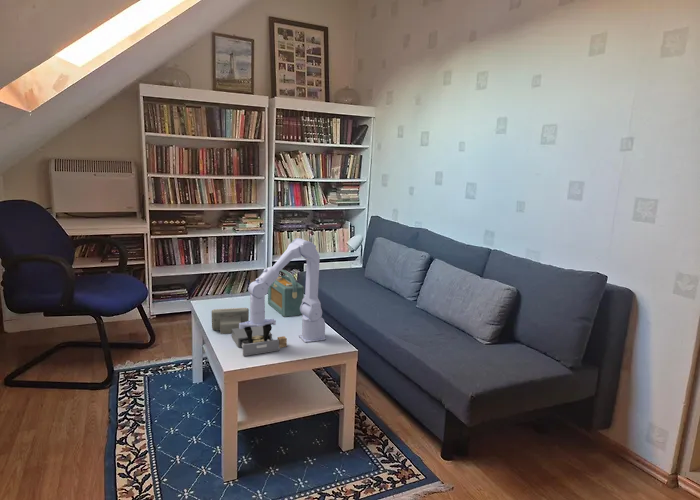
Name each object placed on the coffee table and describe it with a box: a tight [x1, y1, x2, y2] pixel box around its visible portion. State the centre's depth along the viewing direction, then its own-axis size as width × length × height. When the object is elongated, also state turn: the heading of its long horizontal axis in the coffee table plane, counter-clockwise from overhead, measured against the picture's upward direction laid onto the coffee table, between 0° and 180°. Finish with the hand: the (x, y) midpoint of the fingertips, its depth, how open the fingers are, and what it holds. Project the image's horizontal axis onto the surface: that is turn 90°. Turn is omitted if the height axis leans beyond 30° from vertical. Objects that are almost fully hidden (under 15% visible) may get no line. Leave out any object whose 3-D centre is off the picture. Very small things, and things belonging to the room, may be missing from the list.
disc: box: [252, 336, 265, 343], centre depth 190 cm, size 5×5×2 cm
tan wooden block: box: [276, 335, 288, 349], centre depth 194 cm, size 3×3×4 cm
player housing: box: [231, 326, 273, 349], centre depth 199 cm, size 14×12×4 cm
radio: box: [267, 269, 305, 318], centre depth 241 cm, size 26×11×20 cm, turn 29°
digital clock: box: [211, 307, 250, 335], centre depth 209 cm, size 16×9×11 cm, turn 94°
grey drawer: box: [240, 338, 280, 357], centre depth 191 cm, size 14×12×4 cm
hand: (257, 343), depth 191 cm, fingers closed on disc, 5 cm apart
